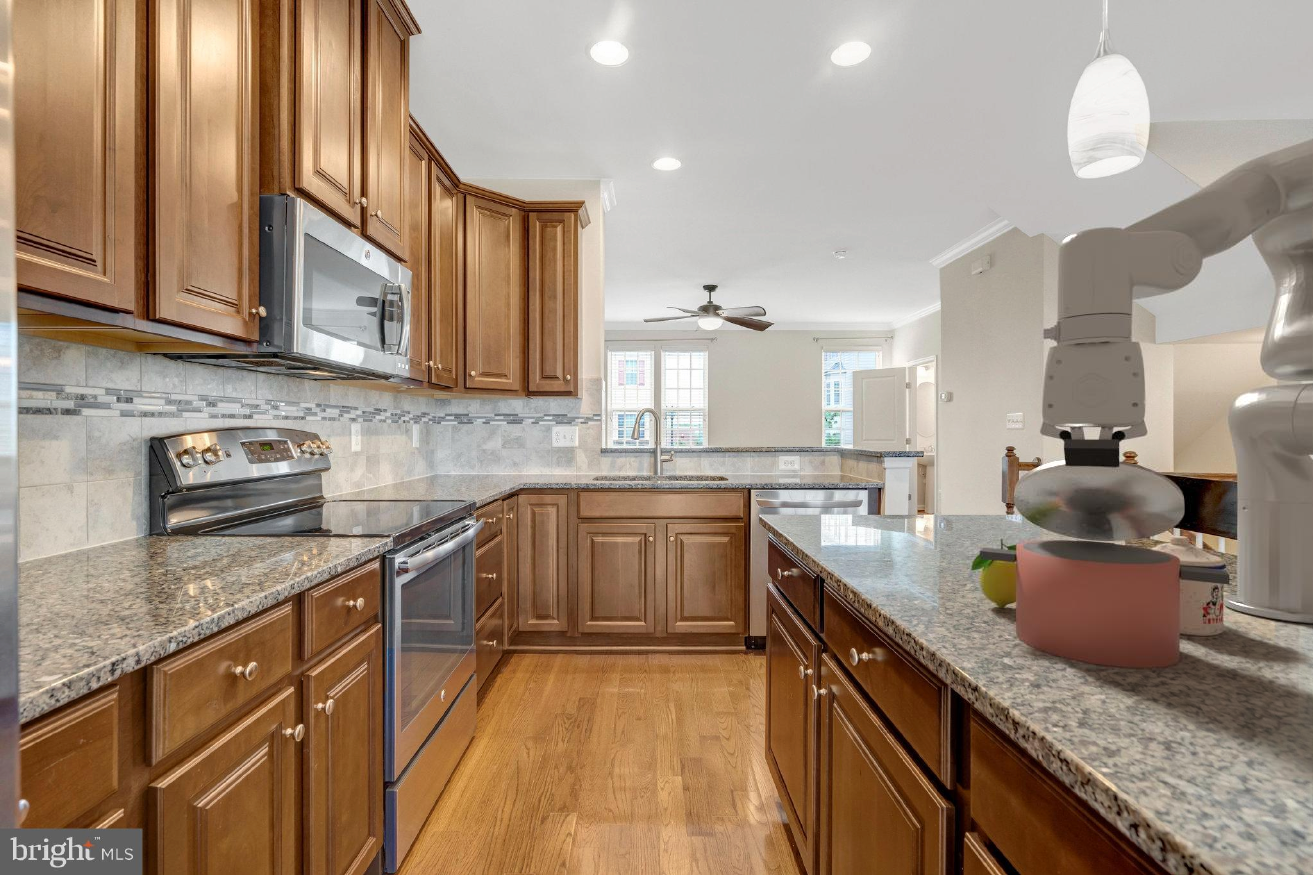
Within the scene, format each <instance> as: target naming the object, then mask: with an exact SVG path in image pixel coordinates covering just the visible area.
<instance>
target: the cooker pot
mask: <svg viewBox="0 0 1313 875" xmlns="http://www.w3.org/2000/svg"><path fill="white" fill-rule="evenodd" d="M1015 545H1016V550H1008V549H1005V548H1003V549H1001V548H994V547H983V548H981V549H980V550H979V554H980V559H987V560H997V561H1007V562H1015V563H1016V602H1015V605H1016V606H1015V608H1016V609H1015V611H1016V613H1015V615H1016V616H1015V617H1016V618H1015V619H1016V620H1015V625H1016V626H1015V627H1016V628H1015V633H1016V634H1015V635H1016V636H1017V638H1018V639H1019V640H1021V642H1023V643H1025V644H1027V645H1029V646H1031V647H1033V648H1034V649H1037V650H1039V651H1042V652H1045V653H1048V654H1050V655H1051V654H1052V655H1054V656H1057V657H1062V658H1065V659H1069V660H1074V661H1079V662H1082V663H1088V664H1095V665H1101V666H1108V667H1118V668H1127V669H1129V668H1130V669H1131V668H1132V669H1156V668H1164V667H1169V666H1173V665H1176V663H1178V662H1179V661H1180V660H1181V659H1180V650H1181V649H1180V643H1181V642H1180V638H1181V637H1180V579H1181V580H1190V581H1200V582H1210V583H1219V584H1224V585H1230V574H1229V572H1228V571H1227V570H1226V569H1224V570H1219V569H1208V568H1197V567H1187V566H1180V559H1179V558H1178V557H1176V556H1174V555H1172V554H1169V553H1165V552H1161V551H1157V550H1152V549H1151V548H1147V547H1140V546H1134V545H1127V544H1118V543H1115V542H1107V541H1094V540H1083V539H1081V540H1080V539H1078V540H1072V539H1071V540H1070V539H1069V540H1066V539H1065V540H1064V539H1061V540H1060V539H1046V540H1045V539H1042V540H1041V539H1040V540H1029V541H1022V542H1019V543H1017V544H1015Z"/></svg>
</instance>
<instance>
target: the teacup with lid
mask: <svg viewBox="0 0 1313 875" xmlns="http://www.w3.org/2000/svg"><path fill="white" fill-rule="evenodd" d="M1168 540H1169V542H1167V543H1160V544H1158V545H1156V546H1154V547H1152V548H1150V549H1152V550H1157V551H1161V552H1165V553H1169V554H1172V555H1174V556H1176V557H1178V558H1179V559H1180V566H1187V567H1197V568H1208V569H1219V570H1226V568H1227V564H1226V562H1225V560H1223V558H1221V557H1219V556H1217V555H1214V554H1210V553H1208V552H1206V551H1204V550H1203V549H1202V548H1200V547H1197V546H1195V545H1191V544H1190V538H1188V537H1187V536H1183V535H1182V536H1181V535H1171V536H1169V539H1168ZM1224 585H1225V584H1219V583H1210V582H1200V581H1190V580H1181V579H1180V634H1181V635H1188V636H1199V637H1200V636H1201V637H1203V636H1205V637H1209V636H1217V635H1221V634H1222V633H1223V632H1224V604H1223V598H1224V595H1225V593H1224V591H1225V590H1224V588H1225V587H1224Z"/></svg>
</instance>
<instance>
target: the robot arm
mask: <svg viewBox="0 0 1313 875" xmlns="http://www.w3.org/2000/svg"><path fill="white" fill-rule="evenodd" d="M1250 235H1251V239H1252V241H1253V243H1254V245H1255V247H1256V249H1257V250H1258V252H1259V254H1260V256H1261V257H1262V259H1263V261H1264V262H1265V265H1266V266H1267V268H1268V269H1269V271H1270V273H1271V276H1272V277H1273V281H1274V283H1275V284H1274V285H1275V294H1274V297H1273V298H1274V299H1273V302H1272V303H1273V304H1272V306H1271V307H1272V308H1271V312H1270V314H1269V319H1268V323H1267V326H1266V330H1265V334H1264V336H1263V340H1262V345H1261V349H1260V350H1261V351H1260V356H1259V361H1260V366H1261V370H1262V371H1263V372H1264V373H1265V374H1266V375H1267V376H1268V377H1270V378H1272V379H1275V380H1280V381H1285V382H1309V383H1295V384H1278V385H1277V384H1276V385H1268V386H1263V387H1259V388H1257V387H1256V388H1253V389H1250V390H1248V391H1246V392H1243V393H1242V394H1240V395H1239V396H1237V397H1236V398H1235V399H1234V400H1233V402H1232V403H1231V404H1230V407H1229V409H1228V414H1227V424H1228V428H1229V434H1230V438H1231V441H1232V442H1231V443H1232V445H1233V450H1234V456H1235V460H1236V461H1235V463H1236V478H1237V480H1236V482H1237V487H1236V488H1237V489H1236V490H1237V497H1236V498H1237V515H1236V516H1237V521H1236V522H1237V524H1236V525H1237V530H1236V531H1237V534H1236V535H1237V545H1236V546H1237V547H1236V551H1237V558H1236V560H1237V563H1236V570H1237V571H1236V576H1237V577H1236V579H1237V580H1236V583H1237V585H1236V586H1237V587H1236V592H1228V593H1224V598H1223V606H1224V605H1225V606H1226V607H1227V608H1229V609H1232V610H1235V611H1238V612H1242V613H1245V614H1249V615H1252V616H1257V617H1262V618H1268V619H1272V620H1280V621H1287V622H1293V623H1305V624H1313V458H1312V457H1311V456H1313V138H1311V139H1308V140H1305V141H1302V142H1299V143H1297V144H1293V145H1291V146H1287V147H1285V148H1281V149H1278V150H1275V151H1273V152H1269V153H1266V154H1264V155H1260V156H1259V157H1258V156H1257V157H1255V158H1253V159H1251V160H1248V161H1246V162H1244V163H1242V164H1240V165H1238V166H1236V167H1235V168H1233V169H1232V170H1230V171H1228V172H1226V173H1225V174H1224V175H1222V176H1220V177H1218V178H1217V179H1215V180H1214V181H1212V182H1211V183H1209V184H1208V185H1206V186H1204V187H1202V188H1200V189H1199V190H1198V191H1196V192H1194V193H1193V194H1191V195H1189V196H1187V197H1186V198H1184V199H1182V200H1180V201H1178V202H1175V203H1172V204H1170V205H1169V206H1167V207H1165V208H1162V209H1161V210H1159V211H1157V212H1155V213H1152V214H1151V215H1149V216H1147V217H1146V218H1143V219H1141V220H1139V221H1137V222H1135V223H1133V224H1131V225H1129V226H1127V227H1124V228H1122V227H1120V228H1119V227H1110V226H1108V227H1106V226H1105V227H1095V228H1090V229H1085V230H1081V231H1078V232H1076V233H1072V234H1070V235H1069V236H1067V237H1066V238H1064V239H1063V240H1062V242H1061V243H1060V245H1059V248H1058V260H1057V261H1058V262H1057V265H1058V266H1057V319H1056V320H1057V321H1056V324H1054V326H1052V327H1050V328H1043V333H1042V334H1043V336H1042V337H1043V340H1050V341H1054V342H1056V345H1053V346H1050V347H1049V348H1048V351H1047V352H1048V353H1047V357H1046V358H1047V359H1046V362H1045V369H1044V377H1043V387H1042V388H1043V390H1042V404H1041V409H1042V410H1041V414H1042V424H1041V427H1040V429H1039V432H1040V434H1041V435H1042V436H1044V437H1049V438H1054V439H1059V440H1062V441H1063V442H1064V439H1086V438H1085V432H1084V428H1100V432H1099V436H1098V439H1107V440H1119V443H1121V442H1122V441H1125V440H1131V439H1136V438H1142V437H1145V436H1147V435H1148V430H1147V425H1146V423H1145V415H1146V380H1145V377H1146V376H1145V366H1144V357H1143V353H1142V348H1141V344H1140V342H1139V341H1133V301H1134V300H1141V299H1147V298H1151V297H1156V296H1161V295H1165V294H1170V293H1173V292H1176V291H1179V290H1180V289H1183V288H1185V287H1187V286H1188V285H1189V284H1191V283H1192V282H1193V281H1194V280H1195V279H1196V278H1197V277H1198V275H1199V274H1200V273H1201V269H1202V267H1203V260H1205V259H1207V258H1210V257H1213V256H1215V255H1218V254H1220V253H1223V252H1225V251H1227V250H1230V249H1231V248H1233V247H1234V246H1236V245H1237V244H1239V243H1240V242H1242V241H1243V240H1245V239H1246V238H1249V236H1250ZM1310 382H1311V383H1310ZM1058 427H1059V428H1058ZM1061 428H1069V430H1070V431H1069V430H1066V429H1061ZM1114 428H1125V429H1120V430H1119V429H1118V430H1115V429H1114ZM1114 430H1115V431H1114Z"/></svg>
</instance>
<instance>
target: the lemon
mask: <svg viewBox="0 0 1313 875" xmlns="http://www.w3.org/2000/svg"><path fill="white" fill-rule="evenodd" d="M1016 545H1017V544H1013V545H1005V544H1004V542H1003V538H1000V549H1004V547H1005V548H1006V550H1016ZM980 569H981V572H980V577H979V578H980V587H981V591H982V592H983V593H982V594H983V595H984V596H985V597H986V598H987V599H988V600H989V601H991V602H993V603H995V604H996V605H997V607H998V608H1000V609H1004V608H1005V607H1007V606H1008V605H1012V604H1014V603H1015V604H1016V562H1007V561H997V560H987V559H980V553H979V554H977V555H976V556H975V558H974V559H973V561H972V564H971V569H970V571H976V570H977V571H978V570H980Z"/></svg>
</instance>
